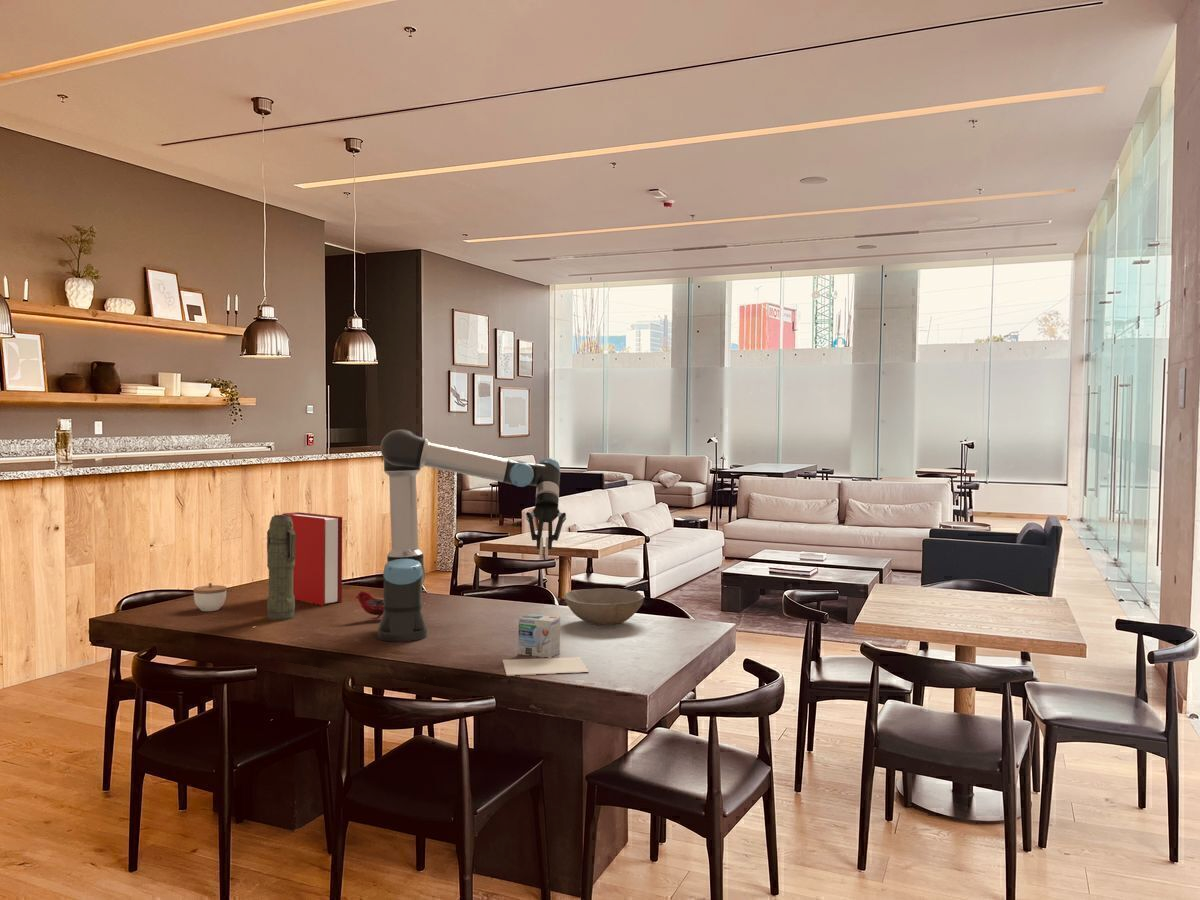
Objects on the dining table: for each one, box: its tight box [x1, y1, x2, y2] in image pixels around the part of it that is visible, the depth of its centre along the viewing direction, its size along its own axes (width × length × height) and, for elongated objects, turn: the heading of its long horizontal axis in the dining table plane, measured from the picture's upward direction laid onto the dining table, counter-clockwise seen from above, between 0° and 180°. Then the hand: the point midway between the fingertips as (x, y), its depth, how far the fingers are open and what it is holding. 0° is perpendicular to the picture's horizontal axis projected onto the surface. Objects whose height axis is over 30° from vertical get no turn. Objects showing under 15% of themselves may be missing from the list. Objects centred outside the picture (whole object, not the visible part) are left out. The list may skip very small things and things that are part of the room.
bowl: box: [564, 587, 645, 627], centre depth 297 cm, size 26×26×10 cm
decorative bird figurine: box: [354, 590, 384, 620], centre depth 299 cm, size 3×18×10 cm, turn 108°
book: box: [281, 511, 343, 606], centre depth 332 cm, size 27×8×32 cm, turn 54°
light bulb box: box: [517, 613, 561, 658], centre depth 256 cm, size 11×7×11 cm, turn 68°
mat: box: [502, 656, 590, 677], centre depth 241 cm, size 22×15×1 cm
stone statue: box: [266, 514, 296, 621], centre depth 300 cm, size 9×12×35 cm
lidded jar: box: [193, 582, 228, 612], centre depth 312 cm, size 11×11×9 cm
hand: (543, 556), depth 271 cm, fingers closed
